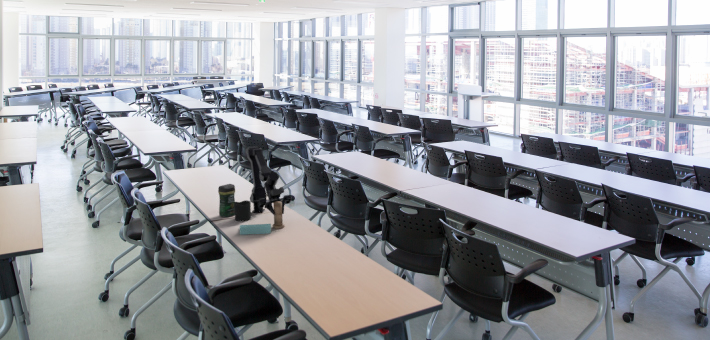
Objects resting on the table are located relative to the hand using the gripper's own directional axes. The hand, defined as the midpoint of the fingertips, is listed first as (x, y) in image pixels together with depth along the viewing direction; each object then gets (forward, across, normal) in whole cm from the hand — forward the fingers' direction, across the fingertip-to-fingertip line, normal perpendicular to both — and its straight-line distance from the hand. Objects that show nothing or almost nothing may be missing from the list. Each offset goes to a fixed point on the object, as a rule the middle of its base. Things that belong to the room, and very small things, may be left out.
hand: (279, 214), depth 297 cm
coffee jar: (-20, -18, +31) cm, 42 cm away
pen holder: (-12, -13, +23) cm, 29 cm away
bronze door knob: (+4, 0, +6) cm, 8 cm away
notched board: (+4, -13, +7) cm, 15 cm away
